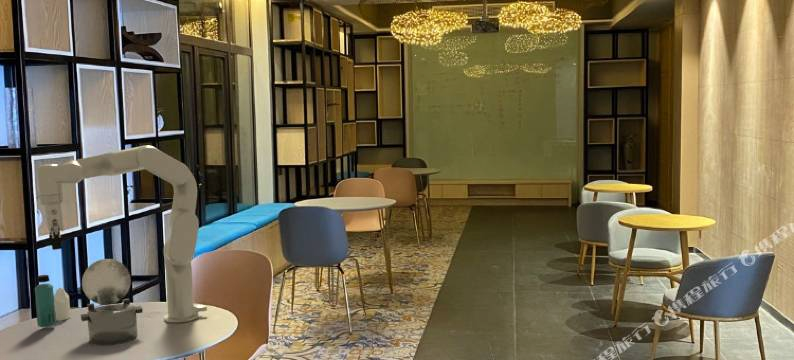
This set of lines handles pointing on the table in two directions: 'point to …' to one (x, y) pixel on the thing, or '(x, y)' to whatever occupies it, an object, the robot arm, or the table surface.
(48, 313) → the beverage bottle
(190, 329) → the table surface
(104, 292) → the cooker lid
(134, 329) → the cooker pot
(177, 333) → the table surface
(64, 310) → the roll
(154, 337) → the table surface
